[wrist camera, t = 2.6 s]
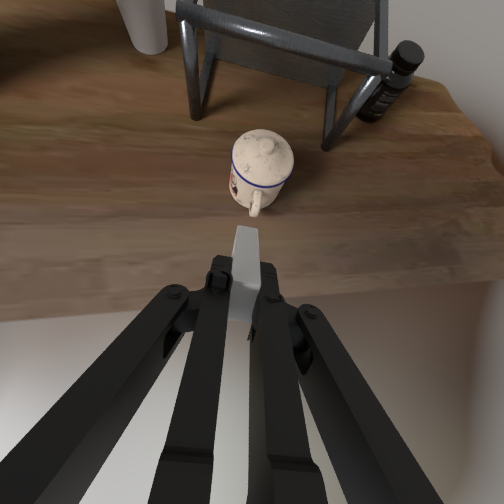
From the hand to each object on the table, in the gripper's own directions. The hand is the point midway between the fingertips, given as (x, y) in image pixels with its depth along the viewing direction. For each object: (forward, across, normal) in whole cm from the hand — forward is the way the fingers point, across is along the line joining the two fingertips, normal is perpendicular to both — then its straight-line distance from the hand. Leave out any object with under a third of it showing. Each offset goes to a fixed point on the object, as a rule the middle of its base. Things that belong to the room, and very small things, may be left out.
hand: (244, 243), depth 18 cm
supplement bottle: (+43, +22, +13) cm, 50 cm away
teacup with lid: (+26, +2, -4) cm, 26 cm away
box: (+40, +2, +10) cm, 41 cm away
